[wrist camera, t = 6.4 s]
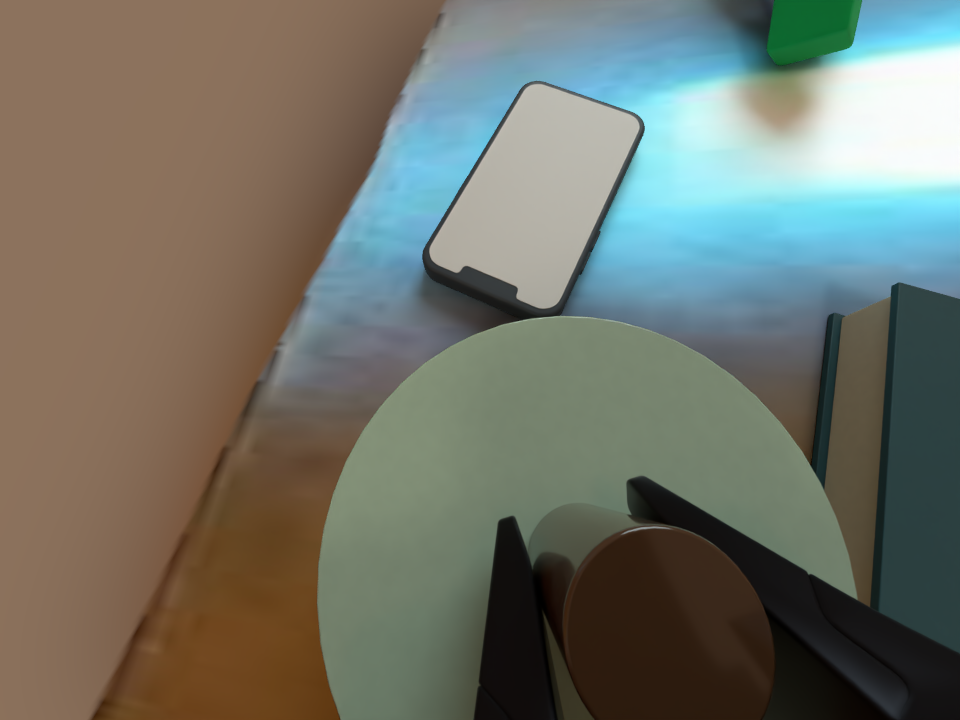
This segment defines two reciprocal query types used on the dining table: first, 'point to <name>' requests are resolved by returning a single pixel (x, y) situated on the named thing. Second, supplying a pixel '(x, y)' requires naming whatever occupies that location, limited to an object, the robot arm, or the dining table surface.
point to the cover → (565, 527)
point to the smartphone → (534, 201)
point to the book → (896, 454)
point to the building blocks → (811, 28)
